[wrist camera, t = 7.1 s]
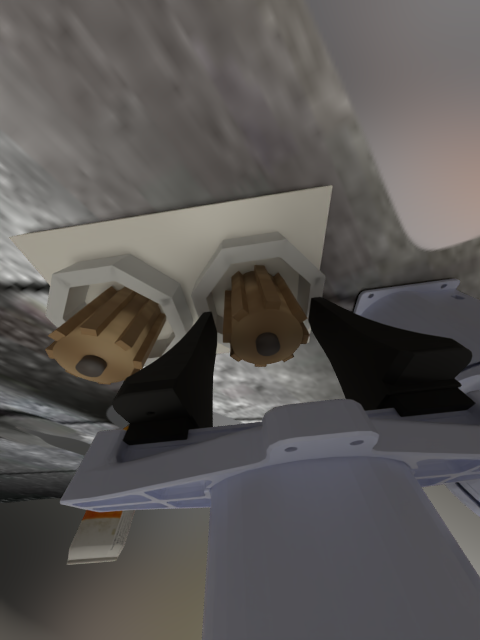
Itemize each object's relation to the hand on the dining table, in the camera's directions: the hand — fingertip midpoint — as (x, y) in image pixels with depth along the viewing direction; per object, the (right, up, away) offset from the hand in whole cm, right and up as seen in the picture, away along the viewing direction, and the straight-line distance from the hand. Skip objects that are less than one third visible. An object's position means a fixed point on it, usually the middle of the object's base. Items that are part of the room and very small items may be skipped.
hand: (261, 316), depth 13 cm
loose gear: (0, +2, +3) cm, 3 cm away
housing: (-6, +2, +4) cm, 7 cm away
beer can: (-20, -21, +20) cm, 35 cm away
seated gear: (-11, +1, +3) cm, 12 cm away
